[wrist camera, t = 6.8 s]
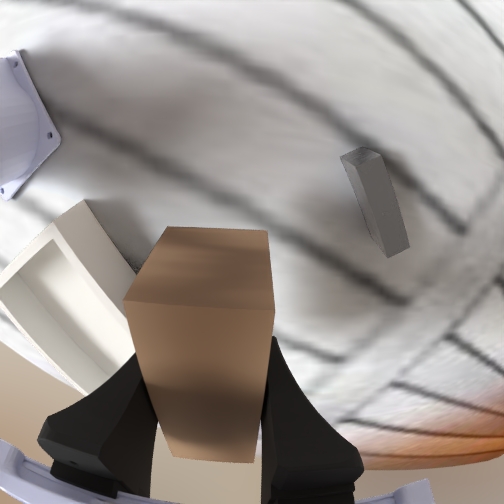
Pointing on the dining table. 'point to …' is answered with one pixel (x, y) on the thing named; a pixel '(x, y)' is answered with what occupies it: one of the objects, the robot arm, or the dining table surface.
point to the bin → (72, 298)
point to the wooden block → (205, 338)
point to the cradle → (376, 199)
